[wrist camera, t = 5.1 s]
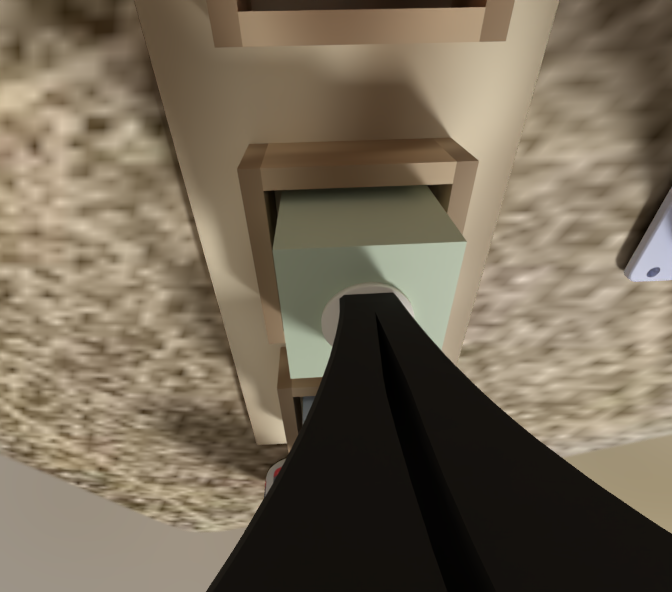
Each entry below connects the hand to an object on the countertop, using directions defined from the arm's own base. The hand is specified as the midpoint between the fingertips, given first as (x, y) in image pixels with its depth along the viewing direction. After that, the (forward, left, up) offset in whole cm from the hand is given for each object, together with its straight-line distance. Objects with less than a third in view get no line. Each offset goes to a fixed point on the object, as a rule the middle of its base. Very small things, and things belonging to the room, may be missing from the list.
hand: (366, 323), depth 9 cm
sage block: (0, 0, -5) cm, 5 cm away
